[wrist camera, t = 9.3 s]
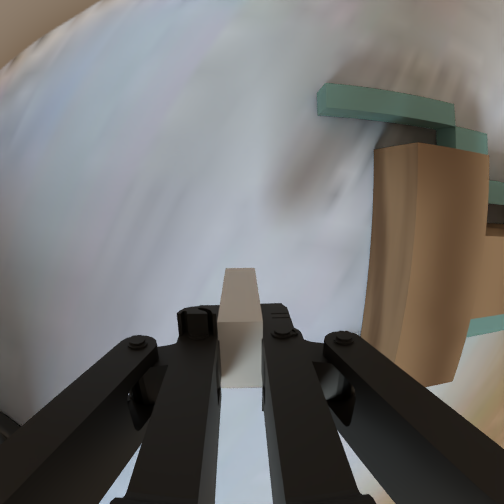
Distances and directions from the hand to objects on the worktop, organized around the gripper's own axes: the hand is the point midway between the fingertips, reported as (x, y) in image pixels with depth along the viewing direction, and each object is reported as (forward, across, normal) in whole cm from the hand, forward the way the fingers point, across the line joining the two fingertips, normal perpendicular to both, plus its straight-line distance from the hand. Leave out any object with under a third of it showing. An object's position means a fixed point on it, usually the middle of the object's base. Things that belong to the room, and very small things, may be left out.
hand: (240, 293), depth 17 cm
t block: (+4, +16, +1) cm, 17 cm away
